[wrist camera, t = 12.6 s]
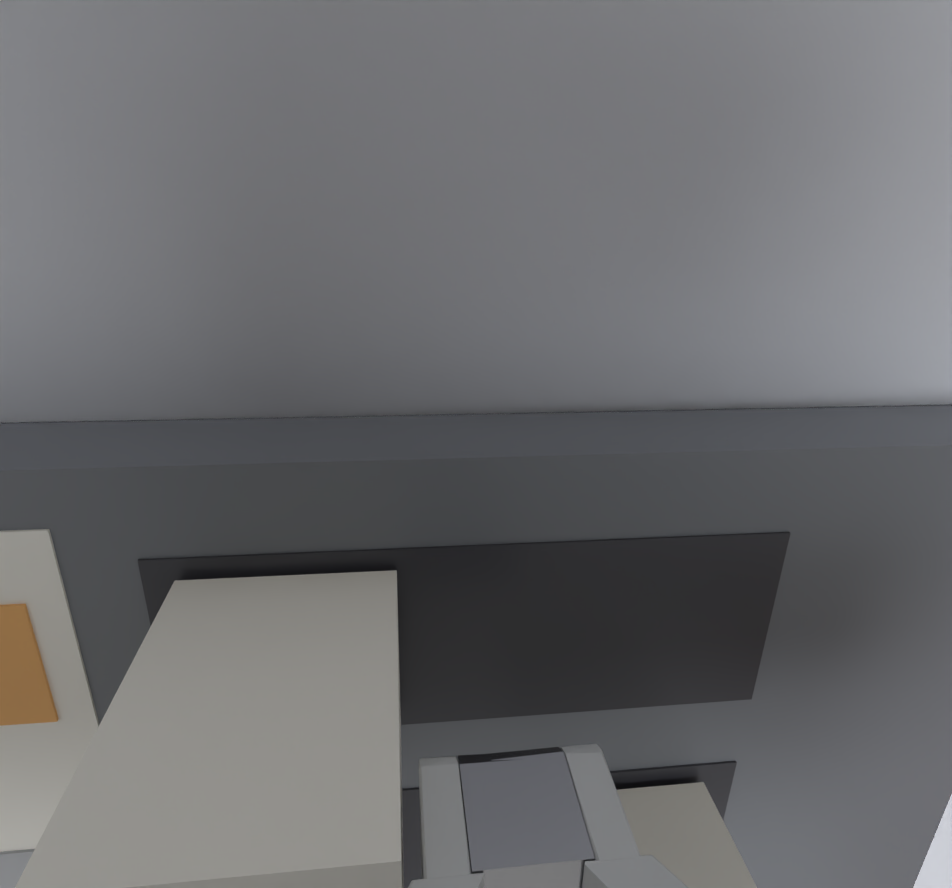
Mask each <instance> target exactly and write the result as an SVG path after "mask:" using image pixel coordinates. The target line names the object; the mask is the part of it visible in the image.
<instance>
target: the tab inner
mask: <svg viewBox="0 0 952 888" xmlns="http://www.w3.org/2000/svg"><path fill="white" fill-rule="evenodd" d="M15 888H404V867H403V812H402V756H401V706H400V670H399V633H398V596H397V570H392V571H371V572H349V573H327V574H305V575H284V576H262V577H240V578H219V579H197V580H175V581H174V583H173V585H172V586H171V588H170V590H169V592H168V594H167V596H166V598H165V600H164V602H163V604H162V606H161V608H160V610H159V611H158V613H157V615H156V617H155V619H154V621H153V623H152V625H151V627H150V629H149V631H148V633H147V635H146V636H145V638H144V640H143V642H142V644H141V646H140V648H139V650H138V652H137V654H136V656H135V658H134V660H133V661H132V663H131V665H130V667H129V669H128V671H127V673H126V675H125V677H124V679H123V681H122V683H121V684H120V686H119V688H118V690H117V692H116V694H115V696H114V698H113V700H112V702H111V704H110V706H109V708H108V709H107V711H106V713H105V715H104V717H103V719H102V721H101V723H100V725H99V727H98V729H97V731H96V733H95V734H94V736H93V738H92V740H91V742H90V744H89V746H88V748H87V750H86V752H85V754H84V756H83V757H82V759H81V761H80V763H79V765H78V767H77V769H76V771H75V773H74V775H73V777H72V779H71V781H70V782H69V784H68V786H67V788H66V790H65V792H64V794H63V796H62V798H61V800H60V802H59V804H58V806H57V807H56V809H55V811H54V813H53V815H52V817H51V819H50V821H49V823H48V825H47V827H46V829H45V831H44V832H43V834H42V836H41V838H40V840H39V842H38V844H37V846H36V848H35V850H34V852H33V854H32V855H31V857H30V859H29V861H28V863H27V865H26V867H25V869H24V871H23V873H22V875H21V877H20V879H19V880H18V882H17V884H16V886H15Z"/></svg>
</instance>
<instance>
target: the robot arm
mask: <svg viewBox="0 0 952 888" xmlns="http://www.w3.org/2000/svg"><path fill="white" fill-rule="evenodd" d="M419 798H420V838H421V870H422V879H418V880H412V881H411V883H410V885H409V887H408V888H688V887H687V886H686V885H685V884H684V883H683V882H682V881H681V880H679V879H678V878H677V877H676V876H675V875H674V874H673V873H672V872H671V871H669V870H668V869H667V868H666V867H665V866H664V865H663V864H662V863H661V862H659V861H658V860H657V859H656V858H655V857H654V856H653V855H642V856H641V855H640V853H639V850H638V847H637V844H636V842H635V839H634V836H633V833H632V831H631V828H630V825H629V823H628V820H627V817H626V814H625V812H624V809H623V806H622V803H621V801H620V798H619V795H618V793H617V790H616V787H615V784H614V782H613V779H612V776H611V773H610V771H609V768H608V765H607V763H606V760H605V757H604V754H603V752H602V749H601V748H600V747H599V746H598V745H597V744H588V745H577V746H566V747H561V748H559V747H550V748H540V749H530V750H520V751H510V752H500V753H490V754H474V755H458V756H457V757H456V756H449V757H434V758H420V759H419Z"/></svg>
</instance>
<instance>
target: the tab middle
mask: <svg viewBox="0 0 952 888" xmlns="http://www.w3.org/2000/svg"><path fill="white" fill-rule="evenodd" d="M617 793H618V795H619V798H620V801H621V803H622V806H623V809H624V812H625V814H626V817H627V820H628V823H629V825H630V828H631V831H632V833H633V836H634V839H635V842H636V844H637V847H638V850H639V853H640V855H641V856H642V855H653V856H654V857H655V858H656V859H657V860H658V861H659V862H661V863H662V864H663V865H664V866H665V867H666V868H667V869H668V870H669V871H671V872H672V873H673V874H674V875H675V876H676V877H677V878H678V879H679V880H681V881H682V882H683V883H684V884H685V885H686V886H687V887H688V888H757V887H756V885H755V883H754V881H753V879H752V877H751V875H750V873H749V871H748V869H747V867H746V865H745V863H744V861H743V859H742V857H741V855H740V853H739V851H738V849H737V847H736V845H735V843H734V841H733V839H732V837H731V835H730V833H729V831H728V829H727V827H726V825H725V823H724V821H723V819H722V817H721V815H720V814H719V812H718V810H717V808H716V806H715V804H714V802H713V800H712V798H711V796H710V794H709V792H708V790H707V788H706V786H705V784H704V782H699V783H687V784H676V785H664V786H653V787H641V788H630V789H619V790H617Z"/></svg>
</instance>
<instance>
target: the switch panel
mask: <svg viewBox="0 0 952 888" xmlns="http://www.w3.org/2000/svg"><path fill="white" fill-rule="evenodd" d="M392 570H397V596H398V633H399V670H400V706H401V756H402V812H403V867H404V888H408V887H409V885H410V883H411V881H412V880H418V879H422V870H421V838H420V798H419V759H420V758H434V757H449V756H456V757H457V756H458V755H474V754H490V753H500V752H510V751H520V750H530V749H540V748H550V747H559V748H561V747H566V746H577V745H588V744H597V745H598V746H599V747H600V748H601V749H602V752H603V754H604V757H605V760H606V763H607V765H608V768H609V771H610V773H611V776H612V779H613V782H614V784H615V787H616V790H619V789H630V788H641V787H653V786H664V785H676V784H687V783H699V782H704V784H705V786H706V788H707V790H708V792H709V794H710V796H711V798H712V800H713V802H714V804H715V806H716V808H717V810H718V812H719V814H720V815H721V817H722V819H723V821H724V823H725V825H726V827H727V829H728V831H729V833H730V835H731V837H732V839H733V841H734V843H735V845H736V847H737V849H738V851H739V853H740V855H741V857H742V859H743V861H744V863H745V865H746V867H747V869H748V871H749V873H750V875H751V877H752V879H753V881H754V883H755V885H756V887H757V888H913V886H914V884H915V881H916V879H917V876H918V874H919V872H920V869H921V867H922V864H923V862H924V859H925V857H926V855H927V852H928V850H929V847H930V845H931V842H932V840H933V837H934V835H935V833H936V830H937V828H938V825H939V823H940V820H941V818H942V816H943V813H944V811H945V808H946V806H947V803H948V801H949V799H950V796H951V794H952V405H934V406H882V407H830V408H777V409H725V410H673V411H620V412H568V413H516V414H464V415H411V416H359V417H307V418H254V419H202V420H150V421H97V422H45V423H0V888H15V886H16V884H17V882H18V880H19V879H20V877H21V875H22V873H23V871H24V869H25V867H26V865H27V863H28V861H29V859H30V857H31V855H32V854H33V852H34V850H35V848H36V846H37V844H38V842H39V840H40V838H41V836H42V834H43V832H44V831H45V829H46V827H47V825H48V823H49V821H50V819H51V817H52V815H53V813H54V811H55V809H56V807H57V806H58V804H59V802H60V800H61V798H62V796H63V794H64V792H65V790H66V788H67V786H68V784H69V782H70V781H71V779H72V777H73V775H74V773H75V771H76V769H77V767H78V765H79V763H80V761H81V759H82V757H83V756H84V754H85V752H86V750H87V748H88V746H89V744H90V742H91V740H92V738H93V736H94V734H95V733H96V731H97V729H98V727H99V725H100V723H101V721H102V719H103V717H104V715H105V713H106V711H107V709H108V708H109V706H110V704H111V702H112V700H113V698H114V696H115V694H116V692H117V690H118V688H119V686H120V684H121V683H122V681H123V679H124V677H125V675H126V673H127V671H128V669H129V667H130V665H131V663H132V661H133V660H134V658H135V656H136V654H137V652H138V650H139V648H140V646H141V644H142V642H143V640H144V638H145V636H146V635H147V633H148V631H149V629H150V627H151V625H152V623H153V621H154V619H155V617H156V615H157V613H158V611H159V610H160V608H161V606H162V604H163V602H164V600H165V598H166V596H167V594H168V592H169V590H170V588H171V586H172V585H173V583H174V581H175V580H197V579H219V578H240V577H262V576H284V575H305V574H327V573H349V572H371V571H392Z"/></svg>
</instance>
